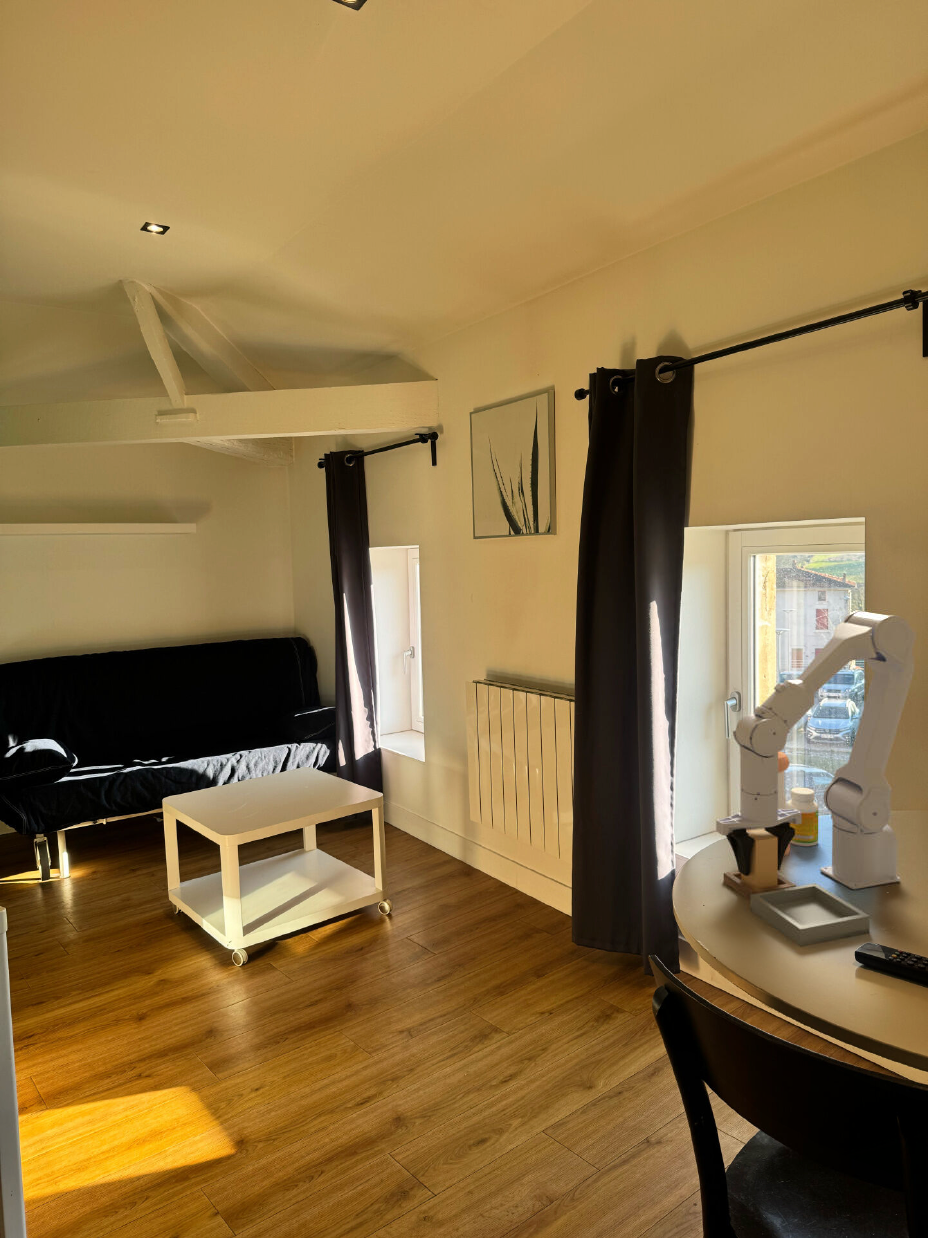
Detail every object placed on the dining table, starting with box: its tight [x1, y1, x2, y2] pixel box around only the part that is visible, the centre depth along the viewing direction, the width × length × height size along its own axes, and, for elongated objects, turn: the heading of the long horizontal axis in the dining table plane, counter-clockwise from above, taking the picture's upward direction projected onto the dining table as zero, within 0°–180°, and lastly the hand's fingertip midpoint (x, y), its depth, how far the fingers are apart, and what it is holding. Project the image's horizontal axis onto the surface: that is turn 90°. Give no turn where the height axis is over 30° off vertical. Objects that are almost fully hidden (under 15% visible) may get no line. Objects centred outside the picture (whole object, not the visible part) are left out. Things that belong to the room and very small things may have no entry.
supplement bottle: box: [786, 787, 819, 847], centre depth 152 cm, size 5×5×10 cm
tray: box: [750, 883, 871, 947], centre depth 122 cm, size 12×12×2 cm
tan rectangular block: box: [741, 829, 779, 889], centre depth 133 cm, size 4×4×9 cm
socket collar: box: [723, 870, 797, 902], centre depth 134 cm, size 8×8×2 cm
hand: (759, 870), depth 133 cm, fingers open, 5 cm apart
